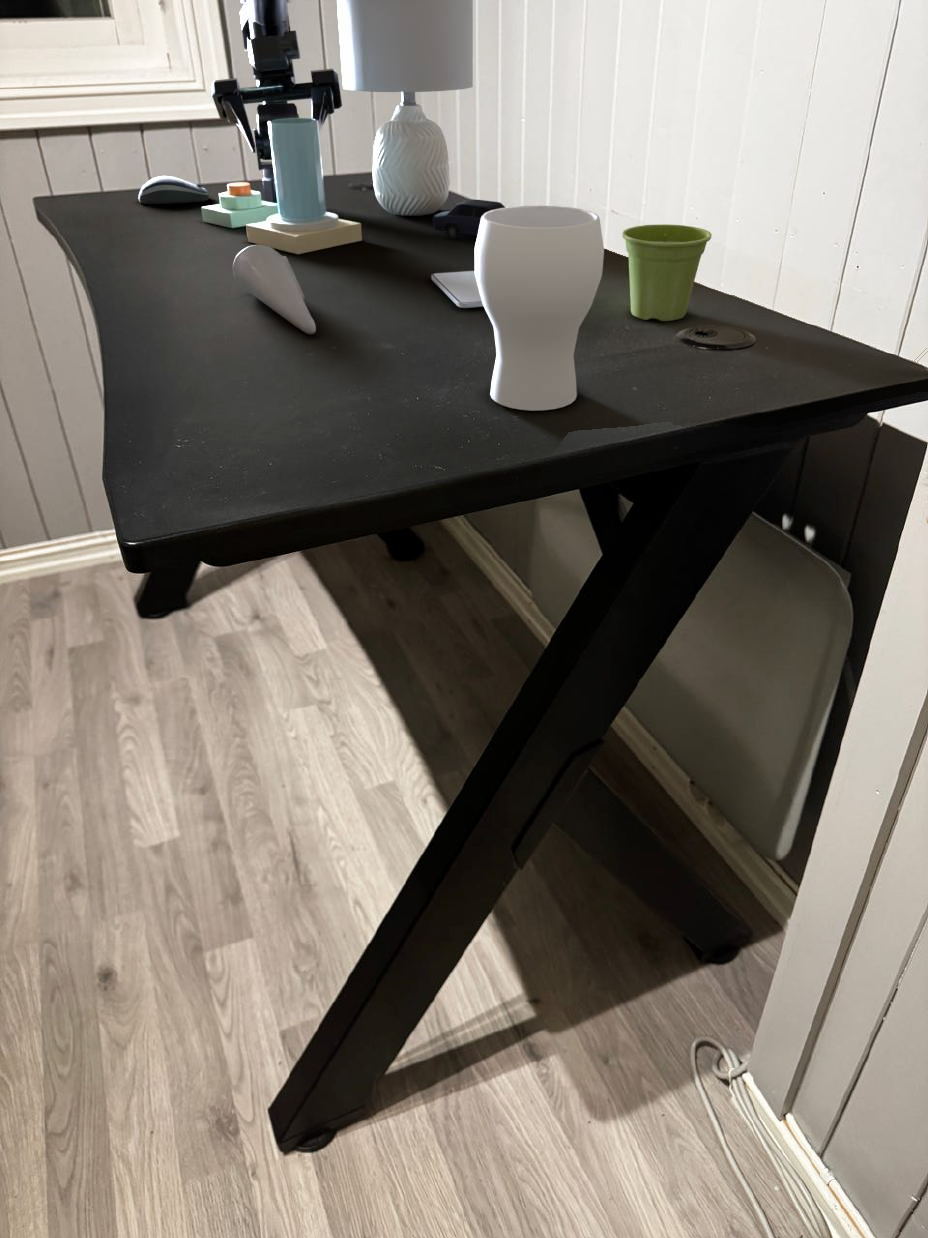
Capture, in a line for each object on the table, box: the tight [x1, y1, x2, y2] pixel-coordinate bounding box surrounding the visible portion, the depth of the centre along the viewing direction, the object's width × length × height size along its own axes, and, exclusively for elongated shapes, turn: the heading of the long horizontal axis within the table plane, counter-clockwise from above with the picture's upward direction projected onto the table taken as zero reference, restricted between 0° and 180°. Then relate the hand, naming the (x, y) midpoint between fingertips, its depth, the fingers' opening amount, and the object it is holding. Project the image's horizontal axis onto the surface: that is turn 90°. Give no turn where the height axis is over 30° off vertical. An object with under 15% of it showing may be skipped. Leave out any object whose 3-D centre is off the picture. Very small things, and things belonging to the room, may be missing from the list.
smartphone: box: [430, 269, 484, 309], centre depth 110 cm, size 7×1×15 cm
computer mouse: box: [138, 175, 210, 205], centre depth 161 cm, size 7×12×4 cm, turn 102°
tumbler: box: [268, 117, 327, 222], centre depth 129 cm, size 7×7×12 cm
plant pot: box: [621, 223, 713, 322], centre depth 99 cm, size 9×9×9 cm
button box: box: [201, 189, 278, 229], centre depth 146 cm, size 10×8×4 cm
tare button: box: [226, 182, 252, 196], centre depth 145 cm, size 4×4×2 cm
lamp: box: [336, 0, 474, 217], centre depth 142 cm, size 20×20×37 cm
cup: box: [474, 204, 605, 412], centre depth 77 cm, size 11×11×15 cm
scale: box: [245, 211, 363, 255], centre depth 133 cm, size 12×12×3 cm
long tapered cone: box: [232, 244, 317, 335], centre depth 102 cm, size 6×6×19 cm
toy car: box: [432, 199, 507, 240], centre depth 134 cm, size 6×15×5 cm, turn 60°
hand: (284, 147), depth 135 cm, fingers open, 9 cm apart
